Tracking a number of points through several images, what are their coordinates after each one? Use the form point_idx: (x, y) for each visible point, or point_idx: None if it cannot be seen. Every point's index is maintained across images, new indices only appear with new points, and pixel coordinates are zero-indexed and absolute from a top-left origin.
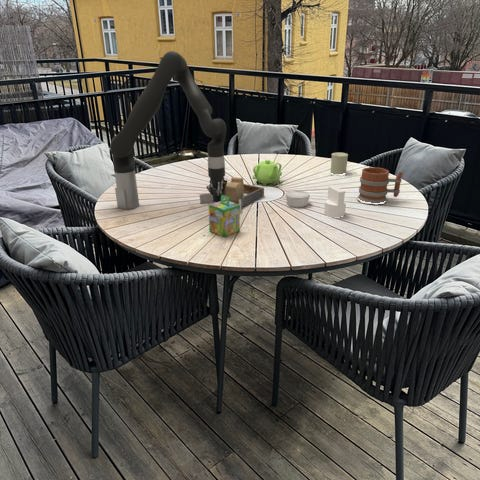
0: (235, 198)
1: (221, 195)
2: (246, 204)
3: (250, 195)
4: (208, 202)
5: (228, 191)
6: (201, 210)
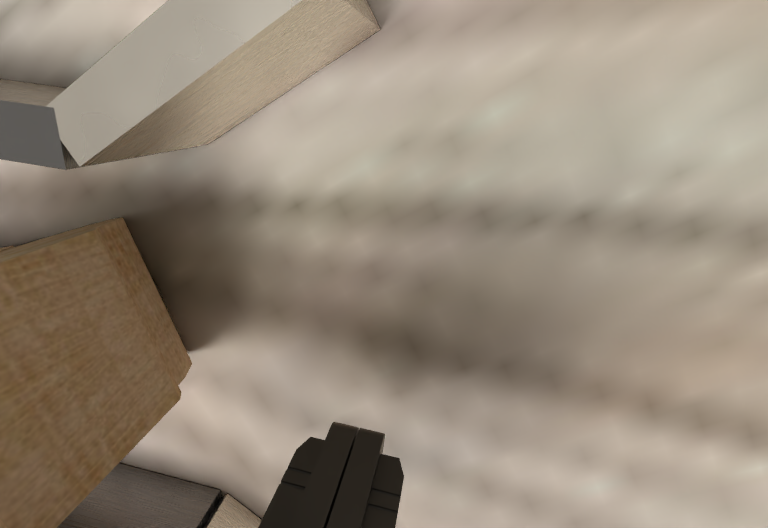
0: (73, 264)
1: None
2: (43, 86)
3: None
4: None
5: (13, 471)
6: (501, 522)
